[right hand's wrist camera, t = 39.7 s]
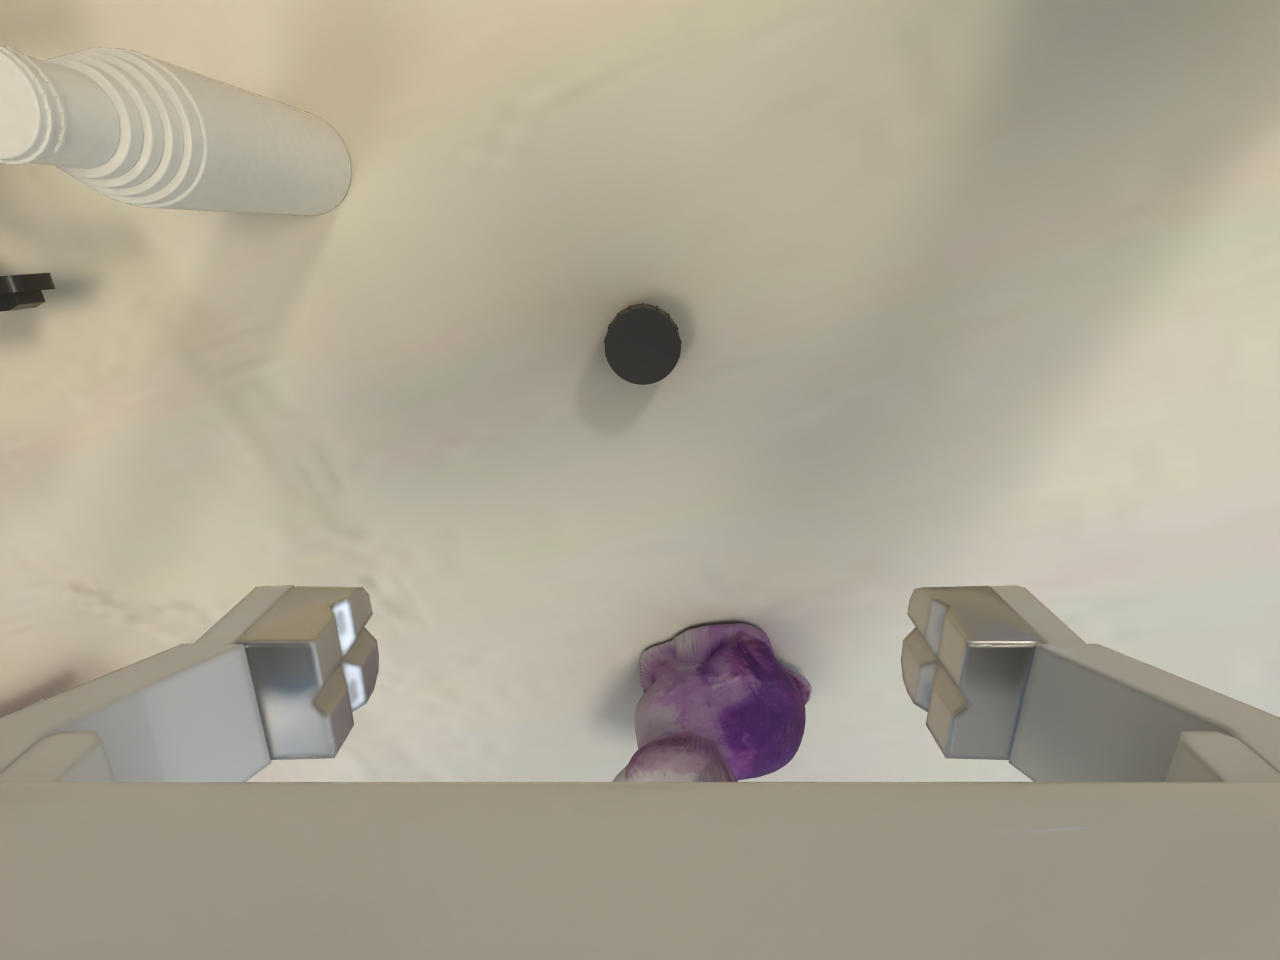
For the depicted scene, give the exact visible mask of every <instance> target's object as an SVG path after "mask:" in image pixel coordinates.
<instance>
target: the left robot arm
mask: <svg viewBox="0 0 1280 960" xmlns="http://www.w3.org/2000/svg"><path fill="white" fill-rule="evenodd" d="M47 289H55V286H54V283H53V281H52V278H51V275H50V273H41V274H27V275H13V276H2V277H0V311H9V310H17V309H25V308H33V307H37V306H39V305H40V304H42V303H44V302H45V299H44V297H43V294H42V291H41V290H47Z"/></svg>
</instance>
